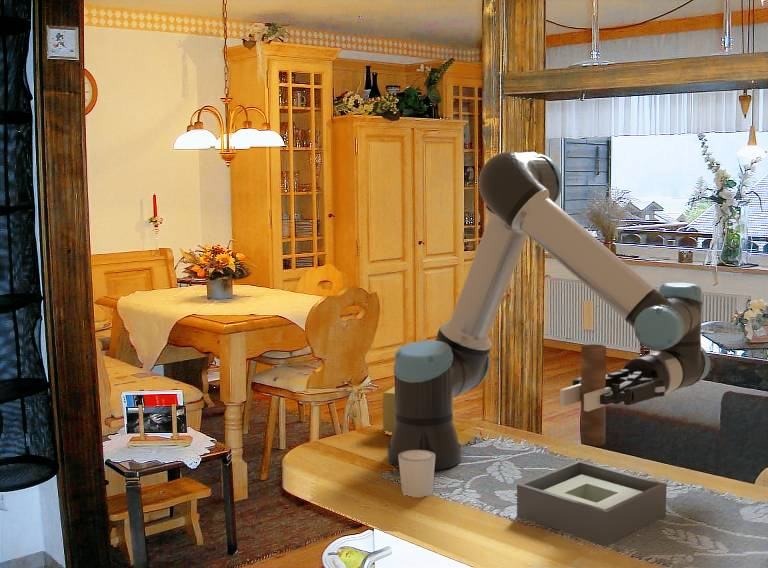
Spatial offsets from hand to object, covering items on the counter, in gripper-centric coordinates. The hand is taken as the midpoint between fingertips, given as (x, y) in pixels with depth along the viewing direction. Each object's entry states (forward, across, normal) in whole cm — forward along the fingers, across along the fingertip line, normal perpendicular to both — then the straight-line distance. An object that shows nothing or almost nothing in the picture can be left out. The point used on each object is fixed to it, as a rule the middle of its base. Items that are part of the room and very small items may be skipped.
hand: (574, 400), depth 144 cm
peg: (-5, 0, -8) cm, 10 cm away
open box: (-5, 0, -21) cm, 22 cm away
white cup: (+7, +29, -21) cm, 37 cm away
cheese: (-19, +57, -21) cm, 64 cm away
